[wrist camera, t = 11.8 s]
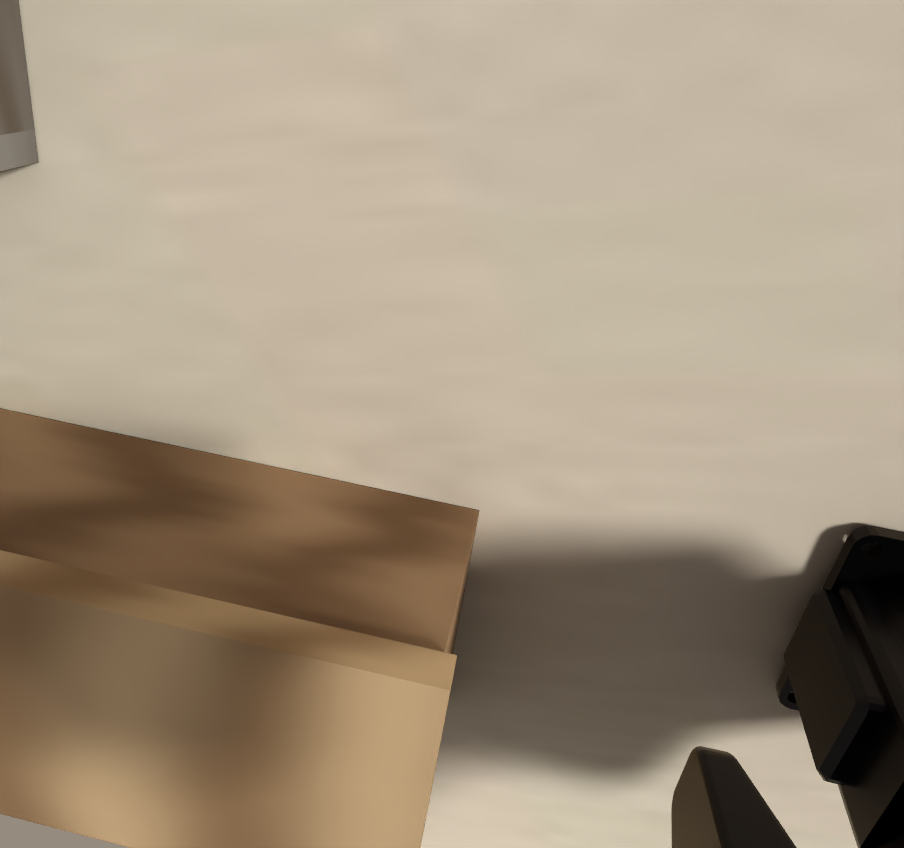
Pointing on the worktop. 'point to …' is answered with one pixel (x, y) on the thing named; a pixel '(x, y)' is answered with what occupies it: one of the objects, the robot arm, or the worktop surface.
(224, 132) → the worktop surface
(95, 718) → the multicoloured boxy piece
